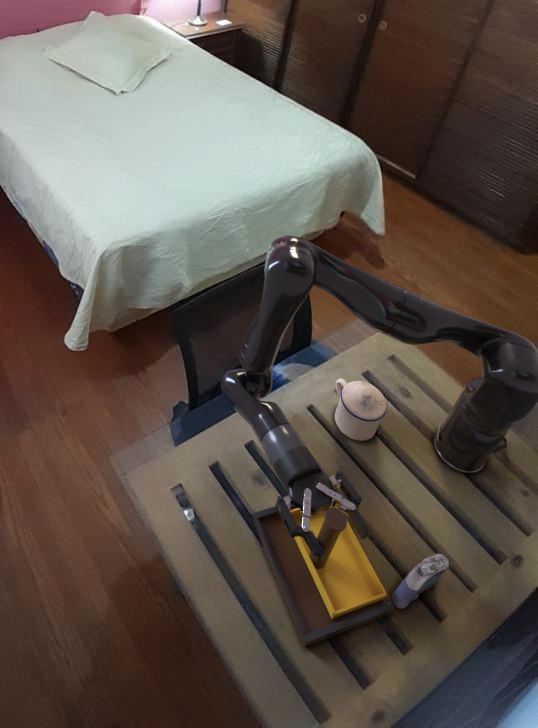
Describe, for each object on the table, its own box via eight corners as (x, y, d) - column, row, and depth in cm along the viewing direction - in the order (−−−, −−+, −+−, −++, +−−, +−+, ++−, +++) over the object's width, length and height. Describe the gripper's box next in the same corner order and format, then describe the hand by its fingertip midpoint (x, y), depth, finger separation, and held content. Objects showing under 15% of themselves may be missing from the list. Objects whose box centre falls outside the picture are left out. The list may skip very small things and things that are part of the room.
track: (328, 493, 107) (330, 488, 106) (392, 613, 92) (395, 608, 90) (251, 519, 104) (252, 513, 103) (304, 646, 89) (306, 642, 87)
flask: (399, 612, 92) (417, 590, 85) (386, 594, 94) (402, 571, 88) (437, 583, 95) (457, 559, 89) (423, 566, 97) (442, 541, 91)
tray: (331, 501, 105) (350, 455, 94) (384, 599, 92) (413, 559, 82) (284, 516, 103) (298, 471, 92) (331, 619, 90) (354, 581, 80)
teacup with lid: (386, 433, 117) (400, 403, 110) (352, 449, 114) (364, 419, 107) (349, 387, 126) (360, 356, 119) (316, 401, 123) (325, 370, 116)
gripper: (258, 460, 98) (311, 555, 86) (324, 433, 102) (384, 520, 90) (254, 479, 103) (304, 573, 91) (318, 452, 107) (374, 539, 94)
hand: (344, 546), depth 90 cm, fingers open, 8 cm apart
